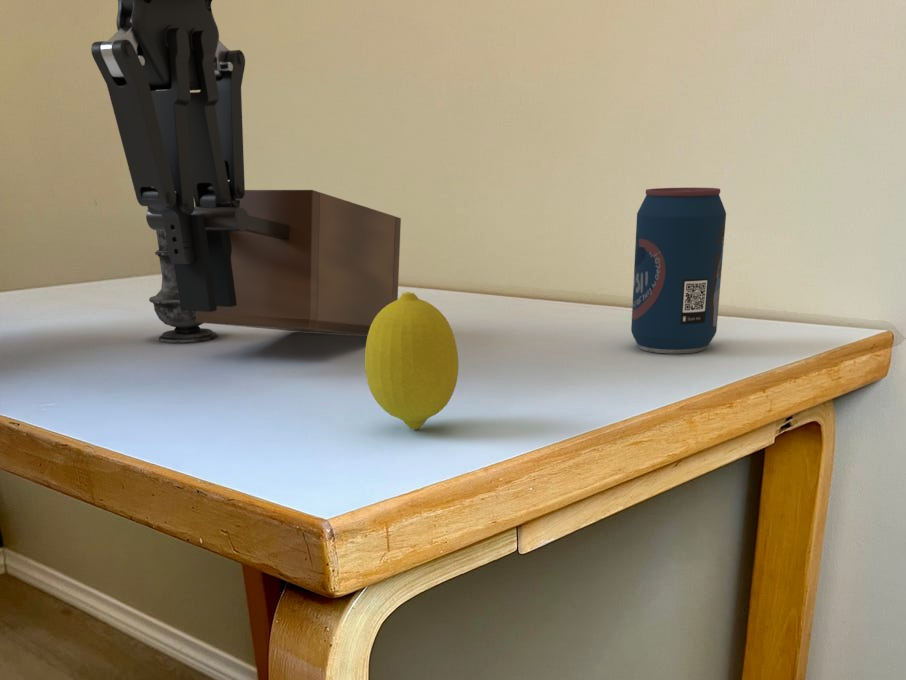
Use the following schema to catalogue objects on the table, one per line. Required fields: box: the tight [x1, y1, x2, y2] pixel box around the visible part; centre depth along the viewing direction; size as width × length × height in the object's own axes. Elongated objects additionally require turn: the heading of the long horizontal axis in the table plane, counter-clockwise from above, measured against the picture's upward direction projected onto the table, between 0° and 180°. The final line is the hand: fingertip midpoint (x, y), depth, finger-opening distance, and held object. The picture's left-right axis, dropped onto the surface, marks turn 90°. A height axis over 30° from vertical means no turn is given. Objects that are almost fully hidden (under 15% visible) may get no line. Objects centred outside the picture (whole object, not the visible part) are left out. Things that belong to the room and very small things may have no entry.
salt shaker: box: [148, 230, 219, 344], centre depth 90 cm, size 6×6×12 cm
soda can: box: [630, 187, 727, 355], centre depth 81 cm, size 7×7×12 cm
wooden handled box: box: [145, 189, 402, 337], centre depth 82 cm, size 21×11×10 cm, turn 155°
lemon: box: [364, 291, 459, 430], centre depth 60 cm, size 6×6×8 cm
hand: (209, 307), depth 75 cm, fingers closed on wooden handled box, 2 cm apart
